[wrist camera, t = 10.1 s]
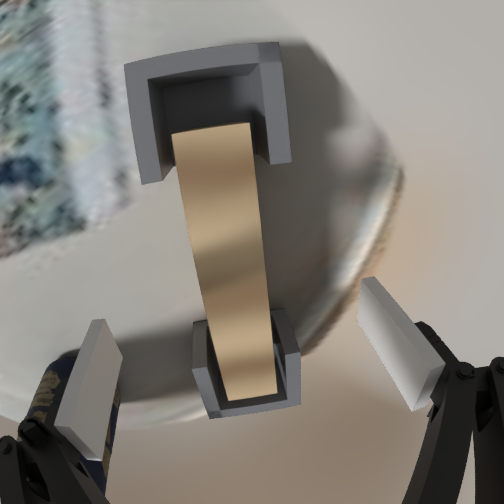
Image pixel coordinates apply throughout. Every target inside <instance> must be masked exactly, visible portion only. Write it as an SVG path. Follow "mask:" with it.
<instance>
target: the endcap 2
mask: <svg viewBox="0 0 504 504" xmlns="http://www.w3.org/2000/svg"><path fill="white" fill-rule="evenodd" d="M270 321H271V331H272V341H273V352H274V362H275V373H276V384H277V393H275V394H269V395H263V396H257V397H251V398H245V399H238V400H231V401H228V397H227V393H226V390H225V386H224V383H223V379H222V375H221V371H220V368H219V364H218V360H217V356H216V352H215V348H214V344H213V340H212V336H211V332H210V328H209V324H208V320H206V321H199V322H193V339H192V366H191V369H192V372H193V375H194V378H195V381H196V384H197V386H198V389H199V392H200V395H201V397H202V400H203V403H204V405H205V408H206V411H207V413H208V416H209V418H210V419H214V418H222V417H231V416H238V415H245V414H251V413H258V412H264V411H270V410H275V409H281V408H286V407H291V406H296V405H300V404H301V352H300V349H299V346H298V344H297V341H296V338H295V336H294V333H293V330H292V328H291V325H290V322H289V319H288V317H287V314H286V311H285V309H284V308H283V309H277V310H271V311H270Z"/></svg>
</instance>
